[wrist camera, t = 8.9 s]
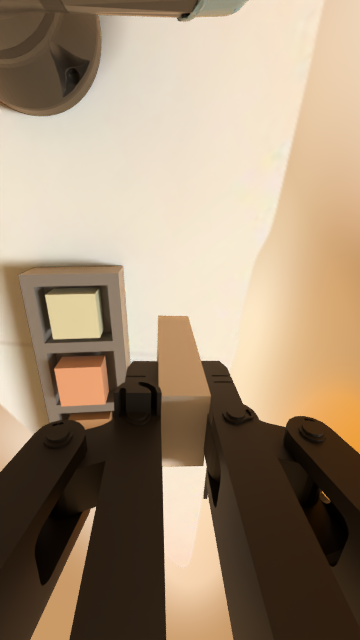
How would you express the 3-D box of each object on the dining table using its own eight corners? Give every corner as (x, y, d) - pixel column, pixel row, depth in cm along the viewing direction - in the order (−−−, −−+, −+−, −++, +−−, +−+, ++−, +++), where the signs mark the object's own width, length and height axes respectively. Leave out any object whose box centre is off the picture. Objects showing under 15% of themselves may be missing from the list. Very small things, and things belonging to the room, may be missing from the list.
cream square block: (53, 288, 37) (45, 294, 34) (99, 287, 38) (94, 293, 35) (60, 329, 40) (53, 339, 37) (104, 328, 40) (99, 337, 37)
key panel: (34, 267, 39) (18, 274, 34) (122, 265, 39) (118, 273, 35) (67, 437, 49) (57, 461, 45) (135, 433, 50) (133, 456, 46)
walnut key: (73, 406, 44) (67, 421, 41) (112, 404, 45) (109, 418, 42) (78, 436, 46) (73, 452, 43) (115, 434, 47) (112, 449, 44)
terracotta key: (61, 356, 40) (54, 368, 37) (105, 355, 40) (100, 366, 37) (68, 392, 42) (61, 406, 39) (109, 390, 42) (105, 404, 39)
